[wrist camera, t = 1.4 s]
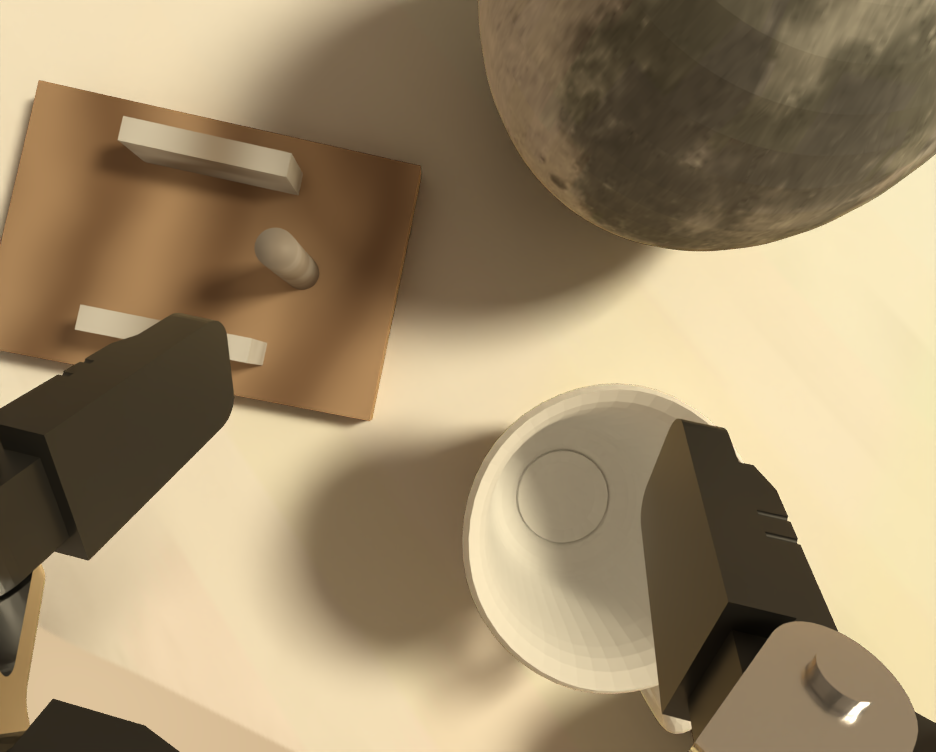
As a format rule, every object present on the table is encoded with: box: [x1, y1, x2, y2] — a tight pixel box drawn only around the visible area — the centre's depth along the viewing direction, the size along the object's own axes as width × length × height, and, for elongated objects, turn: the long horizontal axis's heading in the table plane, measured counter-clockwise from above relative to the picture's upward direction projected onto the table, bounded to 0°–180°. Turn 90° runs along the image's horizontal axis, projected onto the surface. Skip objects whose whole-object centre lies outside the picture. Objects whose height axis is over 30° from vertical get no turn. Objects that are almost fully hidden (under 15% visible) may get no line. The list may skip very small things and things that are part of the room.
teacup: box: [462, 383, 744, 734], centre depth 26 cm, size 12×15×10 cm
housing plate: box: [0, 80, 421, 421], centre depth 27 cm, size 20×14×6 cm
